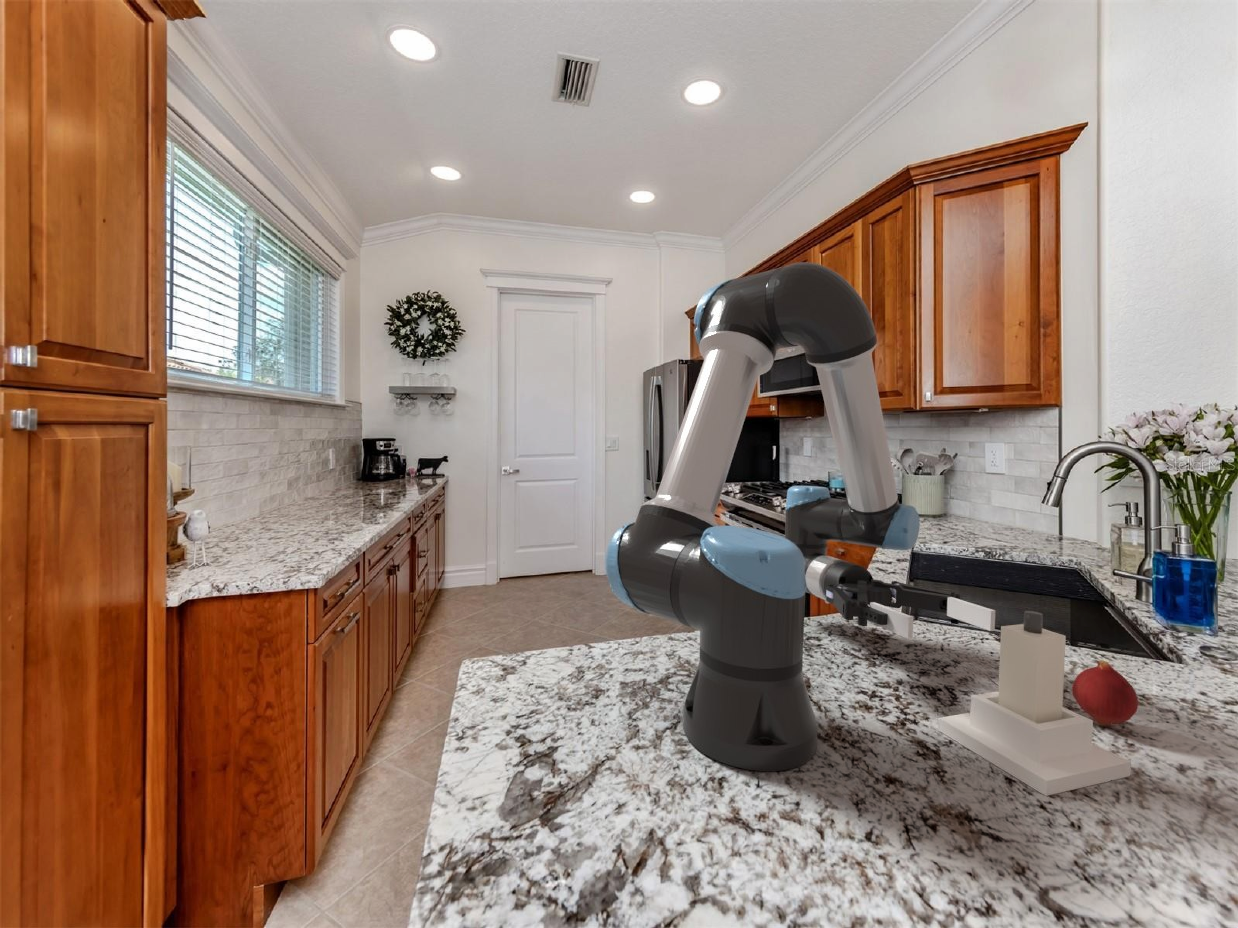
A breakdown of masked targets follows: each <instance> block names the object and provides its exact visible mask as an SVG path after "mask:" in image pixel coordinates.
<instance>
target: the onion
mask: <svg viewBox="0 0 1238 928" xmlns="http://www.w3.org/2000/svg"><path fill="white" fill-rule="evenodd" d="M1096 663H1097V666H1093V667H1089V668H1086V669H1084V670H1083V671H1081V672H1080V673H1078V675H1076V678H1075V679H1074V681H1073V684H1072V687H1071V689H1072V691H1071V693H1072V696H1073V699H1074V700H1075V702H1076V703H1077V705H1078V706H1079V707H1080V708H1081V709H1082V710H1083V712H1085V713H1086V714H1087V715H1088V716H1089V717H1091V718H1092V720H1093V721H1094V722H1096V723H1097V725H1099V726H1103V727H1109V726H1113V725H1118V724H1123V723H1125V722H1126V721H1129V720H1131V718H1133V716H1134V715H1135V714H1136V713H1137V711H1138V708H1139V698H1138V695H1137V692H1136V690H1135V689H1134V687H1133V685H1131V683H1130V682H1129V681H1128V680H1127V679H1126V678H1125V676H1123V675H1122V674H1121V673H1120V672H1119V671H1117V670H1115V669H1114V668H1113V667H1112V665H1111V664H1110V663H1109V662H1107V661H1105V660H1097V661H1096Z"/></svg>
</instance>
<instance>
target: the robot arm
mask: <svg viewBox="0 0 1238 928" xmlns="http://www.w3.org/2000/svg"><path fill="white" fill-rule="evenodd" d="M693 318H694V319H693V325H695V326H696V328H695V329H694V331H693V332H694V337H695V340H696V343H697V345H698V351H699V354H700V355H701V357H702V358H703V362H702V366H701V367H700V370H699V371H700V372H699V373H698V377H697V380H696V383H695V385H694V389H693V390H692V393H691V397H690V400H689V401H688V404H687V408H686V410H685V414H684V416H683V420H682V422H681V424H680V428H679V430H678V434H677V436H676V439H675V441H674V444H673V448H672V451H671V453H670V455H669V458H668V461H667V465H666V467H665V470H664V473H663V476H662V479H661V482H660V484H659V487H658V490H657V493H656V494H655V495H656V496H655V497H654V498H652V499H649V500H648V501H646V502H645V501H644V502H643V503H642V504H641V506H640V508H639V511H638V514H637V516H636V519H635V521H631V522H629V523H626V524H623V525H622V527H621V528H618V529H616V531H615V532H614V533H613V535H612V536H611V539H610V540H609V544H608V546H607V549H606V554H605V572H606V578H607V579H608V581H609V587H610V589H611V591H612V593H613V594H614V595H615V596H616V597H617V599H618V600H619V601H621V602H622V603H624V604H625V605H627V606H629V607H631V608H634V609H635V610H637V611H638V612H642V613H643V614H646V615H653V616H656V617H660V618H662V619H666V620H668V621H671V622H675V623H677V624H679V625H682V626H686V627H688V628H692V629H695V630H697V631H699V659H698V660H699V661H698V665H697V667H696V670H695V674H694V676H693V678H692V680H691V681H692V682H691V683H690V687H689V690H688V692H687V695H686V697H685V698H686V699H685V700H684V704H683V712H682V713H683V715H682V717H683V719H682V721H683V722H682V724H683V725H682V728H683V732H684V734H685V737H686V739H687V740H688V741H689V742H690V743H691V744H692V746H693V747H695V748H696V749H697V750H698V751H700V752H701V753H702V754H704V755H706V756H707V757H709V758H711V759H713V760H715V761H717V762H720V763H723V764H725V765H728V766H732V767H735V768H740V769H745V770H749V771H758V772H777V771H779V772H780V771H784V770H785V771H786V770H792V769H794V768H797V767H800V766H802V765H804V764H806V763H807V762H808V761H810V760H811V759H812V758H813V757H814V756H815V754H816V752H817V747H818V725H817V719H816V717H815V712H814V709H813V707H812V706H813V705H812V702H811V700H810V697H809V693H808V690H807V689H808V688H807V685H806V683H805V678H804V676H803V659H804V657H803V656H804V638H805V637H804V636H805V635H804V633H805V612H806V611H805V609H806V608H805V607H806V606H805V605H806V593H808V594H810V595H812V596H813V597H816V598H819V599H822V600H824V602H825V604H828V605H829V604H832V605H833V606H834V608H835V609H836V611H837V612H838V613H839V614H840V615H841V617H842V618H843V619H845V620H846V621H853V620H854V618H855V617H856V618H857V625H858V626H860V627H867V626H868V621H869V623H871V624H873V625H875V626H878V627H881V628H882V629H885V630H887V631H889V632H891V633H894V634H895V635H899V636H901V637H903V638H906V639H908V640H909V639H913V638H914V618H915V617H914V616H912V615H909V614H906V613H904V612H901V611H898V610H896V609H900V608H902V607H906V608H907V607H908V608H914V609H919V610H926V611H932V612H938V613H943V614H946V616H947V617H950V618H953V619H954V620H955V619H956V620H958V621H960V622H964V623H967V624H970V625H973V626H975V627H977V628H981V629H984V630H987V631H989V632H995V630H996V629H995V627H996V626H995V625H996V610H995V609H992V608H988V607H985V606H982V605H979V604H976V603H973V602H969V601H965V600H963V599H961V597H962V596H961V594H959V593H956V591H954V590H950V592H949V591H943V590H937V589H934V588H928V587H923V586H916V585H911V584H907V583H903V582H900V581H898V580H892V581H891V583H890V582H884V580H879V579H874V578H873V575H872V574H871V572H870V571H869V570H868V569H867V568H866V567H863V566H861V565H859V564H855V563H852V562H850V561H846V560H844V559H840V558H836V557H833V556H830V555H827V550H828V541H832V542H841V543H846V544H847V543H848V544H854V545H861V546H866V547H867V546H868V547H873V548H880V549H882V550H895V551H909V550H911V549H912V548H913V547H914V546H915V544H916V543H917V541H918V537H919V535H920V524H921V523H920V515H919V513H918V511H917V509H916V507H914V506H912V505H907V504H905V503H900V502H899V499H898V498H899V497H898V496H899V495H898V491H897V486H896V481H895V475H894V469H893V464H892V463H893V462H892V459H891V453H890V447H889V442H888V437H887V433H886V425H885V420H884V416H883V409H882V405H881V399H880V395H879V389H878V384H877V378H876V372H875V368H874V361H873V357H872V353H873V352H874V350H875V349H876V347H877V346H878V340H877V334H876V329H875V328H876V327H875V325H874V321H873V318H872V315H871V313H870V311H869V309H868V307H867V305H866V303H865V301H864V300H863V298H862V297H861V296H860V294H859V293H858V291H857V290H856V289H855V288H854V287H853V286H852V285H851V283H850V282H849V281H847V279H845V277H843V276H842V275H840V273H838V272H836V271H834V270H833V269H832V268H829V267H827V266H824V265H823V264H819V263H816V262H805V261H804V262H794V263H790V264H787V265H785V266H783V267H778V268H773V269H770V270H765V271H762V272H758V273H755V274H749V275H746V276H742V277H738V278H731V279H727V280H725V281H724V282H722V283H720V284H716V285H714V286H712V287H711V288H709V289H708V290H707V291H706V292H705V293H704V294H703V295H702V297H701V298H700V299H699V301H698V303H697V306H696V307H695V313H694V317H693ZM798 346H799V347H801V348H802V349H803V351H804V354H805V357H806V358H805V359H806V362H807V364H809V365H810V366H813V367H815V369H816V372H817V376H818V380H819V385H820V388H821V389H820V391H821V394H822V397H823V401H824V406H825V410H826V411H825V412H826V414H827V419H828V422H829V428H830V431H831V435H832V440H833V445H834V448H835V449H834V450H835V452H836V457H837V461H838V465H839V470H840V473H841V479H842V481H843V486H844V490H845V494H846V499H841V498H835V497H834V498H833V497H831V495H830V490H829V488H827V487H825V486H815V485H792V486H791V487H789V488H788V489H787V493H786V501H785V507H784V511H785V521H784V522H785V524H784V525H785V526H784V527H785V528H784V529H785V531H784V536H781V535H779V534H775V533H771V532H768V531H765V530H761V529H757V528H751V527H746V528H745V527H741V526H736V525H719V524H718V523H717V521H716V519H715V515H716V512H717V508H718V506H719V502H720V499H721V496H722V492H723V489H724V487H725V483H726V480H727V477H728V474H729V470H730V468H731V465H732V464H731V463H732V460H733V458H734V453H735V451H736V448H737V446H738V445H737V444H738V441H739V440H740V435H741V432H742V430H743V425H744V422H745V420H746V417H747V413H748V411H749V410H748V409H749V408H750V404H751V400H752V398H753V394H754V390H755V388H756V385H757V382H758V379H759V377H760V376H761V375H764V374H766V373H767V372H769V371H770V370H771V369H772V366H773V364H774V362H775V358H776V354H777V352H778V350H779V349H787V348H792V347H793V348H794V347H798ZM893 599H895V602H893Z"/></svg>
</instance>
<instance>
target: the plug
mask: <svg viewBox="0 0 1238 928" xmlns="http://www.w3.org/2000/svg"><path fill="white" fill-rule="evenodd" d="M1023 613H1024V614H1023V623H1019V624H1012V625H1001V627H1000V643H999V644H1000V646H999V665H998V667H999V669H998V670H999V671H998V705H1000V706H1002V707H1004V708H1006V709H1008V710H1010V711H1012V712H1014V713H1016V714H1018V715H1020V716H1022V717H1025V718H1027V719H1029V720H1031V721H1033V722H1035V723H1037V724H1040V723H1045V722H1051V721H1056V720H1062V707H1063V703H1064V685H1065V683H1064V682H1065V681H1064V679H1065V678H1064V677H1065V663H1066V662H1065V661H1066V658H1065V657H1066V639H1067V637H1066V635H1064V634H1060V633H1057V632H1054V631H1051V630H1048V629H1046V628H1043V621H1044V619H1043V618H1044V617H1043V615H1044V614H1043V613H1041V612H1039V611H1033V610H1025V611H1023Z"/></svg>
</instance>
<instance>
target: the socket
mask: <svg viewBox="0 0 1238 928" xmlns="http://www.w3.org/2000/svg"><path fill="white" fill-rule="evenodd" d="M937 721H938V724H937V731H938V732H940V733H942V734H944V735H945V736H947V737H949V738H950V739H952V740H954V741H955V742H956V743H959V744H960V745H962V746H963V747H965V748H966V749H968V750H970V751H971V752H973V753H974V754H977V755H978V756H979V757H981V758H983V759H984V760H986V761H987V762H989V763H991V764H993V765H995V766H997V768H1000V770H1003V772H1006V773H1007V774H1009V775H1010V776H1013V777H1014V778H1016V779H1017V780H1019V781H1020V782H1022V783H1024V784H1025V785H1027V786H1029V787H1031V788H1032V789H1034V790H1036V791H1037V792H1039V793H1040V794H1042V795H1044V797H1047V796H1051V795H1052V796H1053V795H1056V794H1060V793H1064V792H1069V791H1073V790H1077V789H1082V788H1085V787H1090V786H1094V785H1098V784H1103V783H1107V782H1112V781H1115V780H1119V779H1124V778H1129V777H1131V770H1132V761H1130V760H1128V759H1126V758H1123V757H1122V756H1120V755H1118V754H1115V753H1113V752H1111V751H1110V750H1108V749H1105V748H1103V747H1100V746H1098V744H1095V743H1093V728H1094V727H1093V726H1094V719H1090V718H1088V717H1087V716H1084V715H1081V714H1079V713H1077V712H1074V711H1072V710H1070V709H1068V708H1066V707H1064V706H1062V720H1056V721H1051V722H1045V723H1040V724H1037V723H1035V722H1033V721H1031V720H1029V719H1027V718H1025V717H1022V716H1020V715H1018V714H1016V713H1014V712H1012V711H1010V710H1008V709H1006V708H1004V707H1002V706H1000V705H998V691H991V692H984V693H979V694H971V695H970V712H966V713H959V714H955V715H947V716H943V717H938V720H937ZM1111 780H1112V781H1111Z"/></svg>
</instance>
